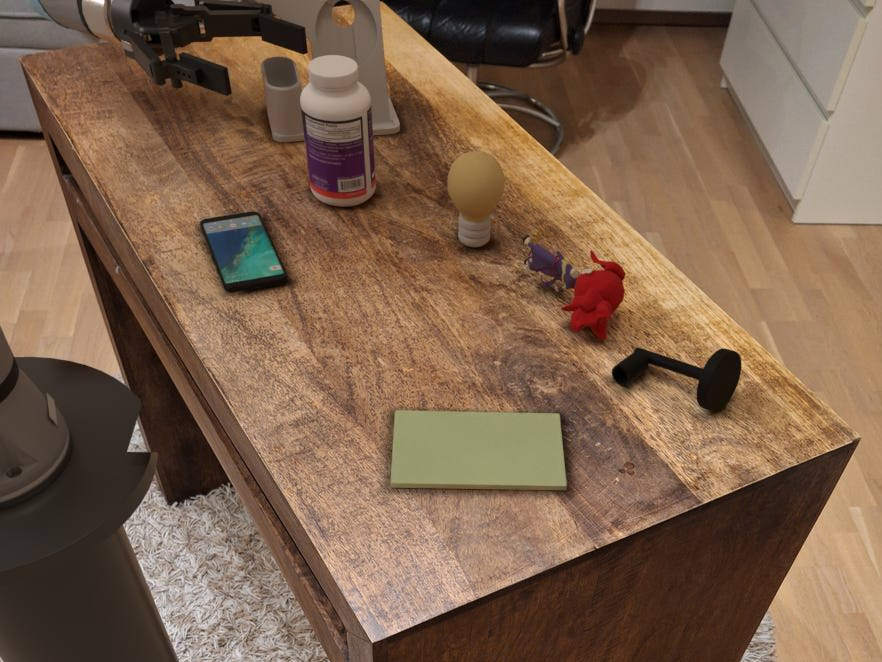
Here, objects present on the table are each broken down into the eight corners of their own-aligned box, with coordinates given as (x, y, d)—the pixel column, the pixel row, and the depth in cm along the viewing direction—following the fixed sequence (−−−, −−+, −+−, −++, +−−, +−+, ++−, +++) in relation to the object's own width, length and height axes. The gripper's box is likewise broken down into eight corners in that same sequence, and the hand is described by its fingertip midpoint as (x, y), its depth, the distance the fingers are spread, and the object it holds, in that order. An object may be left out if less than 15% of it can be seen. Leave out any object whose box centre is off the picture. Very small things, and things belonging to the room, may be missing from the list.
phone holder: (271, 143, 118) (247, -19, 103) (263, 107, 124) (240, -51, 109) (401, 133, 121) (396, -26, 106) (388, 99, 126) (381, -56, 112)
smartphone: (258, 209, 107) (289, 278, 99) (259, 215, 107) (290, 284, 99) (197, 218, 105) (224, 289, 97) (199, 225, 106) (225, 295, 97)
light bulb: (506, 231, 107) (511, 145, 99) (494, 260, 104) (499, 173, 96) (454, 223, 108) (455, 137, 100) (440, 251, 104) (441, 164, 96)
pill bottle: (336, 170, 114) (324, 43, 103) (389, 189, 112) (383, 61, 101) (297, 198, 110) (280, 69, 98) (351, 217, 108) (341, 88, 96)
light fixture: (576, 423, 91) (653, 365, 96) (662, 457, 85) (739, 394, 91) (573, 370, 87) (654, 313, 92) (664, 403, 81) (744, 340, 86)
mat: (390, 487, 82) (390, 483, 81) (395, 414, 87) (395, 409, 87) (566, 490, 82) (567, 485, 82) (559, 418, 88) (559, 413, 88)
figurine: (547, 257, 103) (647, 317, 97) (495, 299, 101) (595, 363, 95) (544, 208, 97) (651, 269, 92) (489, 252, 95) (595, 317, 90)
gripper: (208, 16, 119) (336, 59, 113) (64, 84, 107) (199, 136, 101) (196, -52, 113) (330, -11, 107) (41, 11, 100) (184, 62, 94)
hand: (267, 60), depth 104 cm, fingers open, 13 cm apart
